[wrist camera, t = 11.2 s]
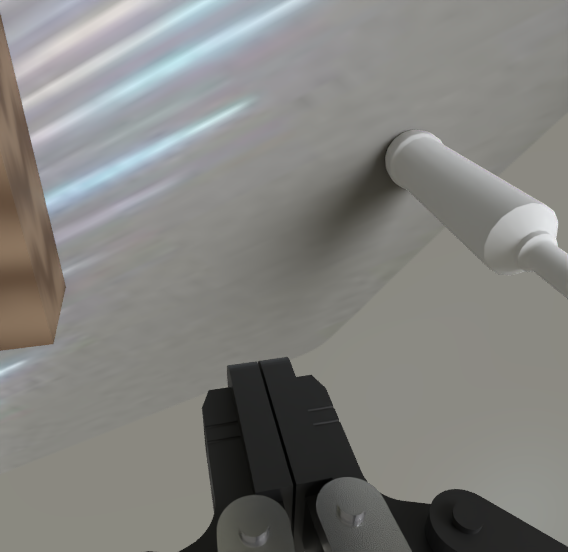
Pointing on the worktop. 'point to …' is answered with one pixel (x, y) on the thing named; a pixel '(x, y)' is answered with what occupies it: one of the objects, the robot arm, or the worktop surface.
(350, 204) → the worktop surface
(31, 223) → the walnut block
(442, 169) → the bottle
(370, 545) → the robot arm
